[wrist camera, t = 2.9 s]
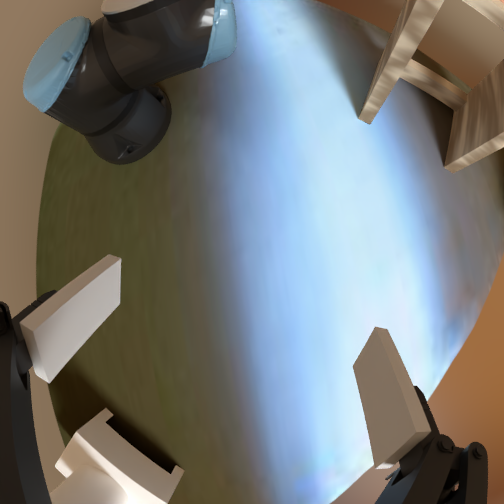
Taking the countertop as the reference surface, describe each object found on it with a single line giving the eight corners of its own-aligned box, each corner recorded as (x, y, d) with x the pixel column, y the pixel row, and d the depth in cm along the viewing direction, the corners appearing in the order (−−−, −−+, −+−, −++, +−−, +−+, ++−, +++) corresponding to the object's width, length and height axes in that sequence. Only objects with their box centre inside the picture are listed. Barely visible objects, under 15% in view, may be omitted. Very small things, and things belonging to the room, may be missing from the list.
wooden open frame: (358, 118, 37) (432, -36, 8) (378, 62, 37) (431, -67, 7) (452, 173, 36) (586, 101, 6) (462, 112, 35) (556, 27, 5)
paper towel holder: (184, 470, 39) (121, 585, 10) (143, 498, 40) (87, 581, 10) (105, 407, 41) (-1, 489, 11) (78, 445, 42) (-1, 510, 12)
